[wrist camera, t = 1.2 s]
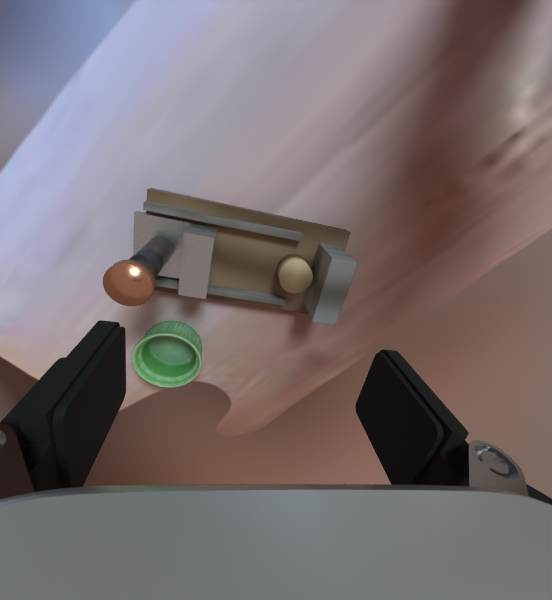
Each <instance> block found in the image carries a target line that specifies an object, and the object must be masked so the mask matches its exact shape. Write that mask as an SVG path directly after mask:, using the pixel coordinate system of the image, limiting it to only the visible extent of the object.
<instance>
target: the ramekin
mask: <svg viewBox="0 0 552 600" xmlns="http://www.w3.org/2000/svg"><path fill="white" fill-rule="evenodd" d="M201 352H202V342H201V339H200V337H199V335H198V334H197V332H196V331H195V330H194V329H193V328H191V327H190V326H188V325H186V324H184V323H181V322H176V321H167V322H162V323H159V324H157V325H155V326H153V327H152V328H151V329H150V330H149V331H148V332H147V334H146V335H145V336H144V338H143V339H142V340H140V341H139V342H138V344H137V345H136V346H135V348H134V350H133V353H132V364H133V367H134V369H135V371H136V372H137V373H138V375H139V376H140V377H141V378H143V379H144V380H145V381H147V382H149V383H151V384H153V385H156V386H159V387H167V388H173V387H179V386H182V385H185V384H187V383H189V382H191V381H192V380H193V379H195V378H196V377H197V375H198V374H199V372H200V370H201V367H202V357H201Z"/></svg>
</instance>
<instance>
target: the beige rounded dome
mask: <svg viewBox="0 0 552 600" xmlns="http://www.w3.org/2000/svg"><path fill="white" fill-rule="evenodd" d="M277 274H278V277H279V280H280V284H281V286H282V287H283V289H284V290H286V291H287V292H289V293H301V292H303V291H305V290H306V289H307V288H308V287H309V286H310V285H311V283H312V280H313V274H312V271H311V269H310V267H309V266H308V264H307V262H306V261H305V259H304V258H303V257H301V256H300V255H297V254H290V255H287V256H285V257H283V258H282V259H281V260H280V261H279V263H278V266H277Z"/></svg>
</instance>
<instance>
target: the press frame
mask: <svg viewBox="0 0 552 600" xmlns="http://www.w3.org/2000/svg"><path fill="white" fill-rule="evenodd" d="M143 210H147V212H146V213H148V214H153V215H158V216H163V217H168V218H173V219H178V220H183V221H188V222H192V224H197V225H202V226H207V227H212V228H217V235H216V243H215V250H214V257H213V264H212V272H211V279H210V285H209V289H208V293H207V297H206V298H210V299H217V300H223V301H230V302H236V303H243V304H250V305H256V306H263V307H269V308H276V309H282V310H289V311H296V312H302V313H309V316H310V318H311V320H312V322H317V323H324V324H331V325H336V323H337V320H338V317H339V315H340V312H341V309H342V306H343V303H344V301H345V298H346V295H347V292H348V290H349V287H350V284H351V281H352V278H353V276H354V273H355V270H356V267H357V265H358V262H357V261H356V260H354V259H353V258H352V257H351V256H350V255H349V254H348V253H347V252H346V251H345V247H346V244H347V241H348V238H349V235H350V232H348V231H347V230H344V229H339V228H335V227H330V226H325V225H321V224H316V223H311V222H307V221H302V220H297V219H293V218H288V217H283V216H279V215H274V214H269V213H265V212H260V211H255V210H251V209H246V208H241V207H237V206H232V205H228V204H223V203H218V202H214V201H209V200H204V199H200V198H195V197H190V196H186V195H181V194H176V193H172V192H167V191H162V190H158V189H153V188H150V189H147V201H145V202H144V206H143ZM290 254H297V255H300V256H301V257H303V258H304V259H305V261H306V262H307V264H308V266H309V267H310V269H311V271H312V274H313V280H312V283H311V285H310V286H309V287H308V288H307V289H306V290H305V291H303V292H301V293H289V292H287V291H286V290H284V289H283V287H282V286H281V284H280V280H279V277H278V274H277V266H278V263H279V261H280V260H281V259H282V258H283V257H285V256H287V255H290ZM154 290H158V291H164V292H171V293H177V294H178V290H179V279H178V278H172V277H166V276H159V275H157V277H156V278H155V289H154Z"/></svg>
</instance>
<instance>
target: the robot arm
mask: <svg viewBox="0 0 552 600" xmlns="http://www.w3.org/2000/svg"><path fill="white" fill-rule="evenodd" d="M125 393H126V347H125V328H124V327H120V325H119V323H118V322H110V321H98V322H97V323H96V324H95V325H94V327H93V328H92V329H91V330H90V331H89V332H88V333H87V334H86V336H85V337H84V338H83V339H82V340H81V341H80V342H79V344H78V345H77V346H76V347H75V348H74V349H73V350H72V351H71V353H70V354H69V355H68V356H67V357H66V358H60V359H59V360H57V361H56V362H55V363H54V364H53V365H52V366H51V368H50V369H49V370H48V371H47V372H46V373H45V374H44V375H43V376H42V377H41V379H40V380H39V381H38V382H37V383H36V384H35V385H34V386H33V387H32V388H31V389H30V391H29V392H28V393H27V394H26V395H25V396H24V397H23V398H22V400H20V401H19V403H18V404H17V405H16V406H15V407H14V408H13V409H12V410H11V411H10V413H9V414H8V415H7V416H6V417H5V418H4V419H3V420H2V421H1V422H0V600H552V499H551V498H549V497H548V496H546V495H544V494H543V493H541V492H539V491H537V490H536V489H534V488H532V487H530V486H529V485H527V484H526V481H525V476H524V474H523V472H522V469H521V468H520V467H519V465H518V464H517V463H516V462H515V461H514V460H513V459H512V458H511V457H510V456H509V455H508V454H506V453H505V452H504V451H502V450H501V449H499V448H497V447H496V446H494V445H492V444H490V443H487V442H484V441H480V440H475V441H472V442H470V443H469V444H468V443H467V442H466V441H465V439H466V437H467V435H468V434H469V433H468V431H467V430H466V429H465V428H464V427H463V425H462V424H461V423H460V422H459V421H458V420H457V419H456V417H455V416H454V415H453V414H452V413H451V412H450V411H449V409H448V408H447V407H446V406H445V405H444V404H443V403H442V401H441V400H440V399H439V398H438V397H437V396H436V395H435V393H434V392H433V391H432V390H431V389H430V388H429V387H428V385H427V384H426V383H425V382H424V381H423V380H422V379H421V378H420V376H419V375H418V374H417V373H416V372H415V371H414V369H413V368H412V367H411V366H410V365H409V364H408V363H407V361H406V360H405V359H404V358H403V357H402V356H401V355H400V354H399V353H398V352H397V351H392V350H381V351H380V352H379V353H377V354H376V355H375V357H374V360H373V362H372V365H371V367H370V370H369V372H368V375H367V377H366V380H365V383H364V385H363V387H362V390H361V392H360V395H359V397H358V400H357V402H356V413H357V415H358V417H359V419H360V421H361V423H362V425H363V427H364V429H365V431H366V433H367V435H368V438H369V440H370V442H371V444H372V446H373V448H374V450H375V452H376V454H377V456H378V458H379V460H380V462H381V464H382V466H383V468H384V470H385V472H386V474H387V476H388V478H389V480H390V482H391V484H392V485H369V484H366V485H365V484H362V485H361V484H358V485H357V484H205V485H202V484H198V485H197V484H195V485H193V484H192V485H191V484H187V485H121V486H91V487H83V484H84V482H85V480H86V478H87V476H88V474H89V472H90V470H91V468H92V465H93V463H94V461H95V459H96V457H97V455H98V453H99V451H100V449H101V446H102V444H103V442H104V440H105V438H106V436H107V434H108V432H109V430H110V428H111V425H112V423H113V421H114V419H115V417H116V415H117V413H118V411H119V409H120V407H121V405H122V402H123V400H124V397H125Z"/></svg>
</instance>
